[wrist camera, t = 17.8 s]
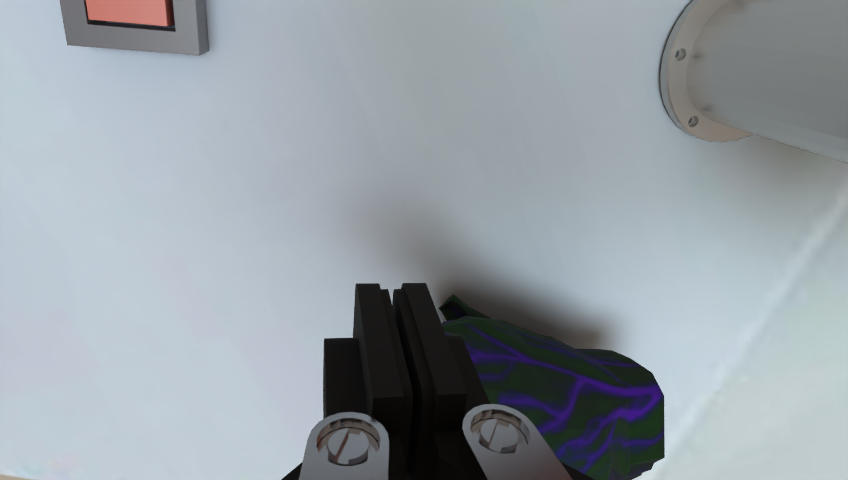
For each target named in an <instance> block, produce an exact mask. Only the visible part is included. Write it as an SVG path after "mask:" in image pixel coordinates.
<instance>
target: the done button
mask: <svg viewBox="0 0 848 480" xmlns="http://www.w3.org/2000/svg"><path fill="white" fill-rule="evenodd" d="M86 4H87V11H88V17H89V19H90V20H101V21H113V22H124V23H135V24H147V25H158V26H171V25H175V19H174V8H173V0H86Z"/></svg>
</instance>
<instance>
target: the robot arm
mask: <svg viewBox="0 0 848 480" xmlns="http://www.w3.org/2000/svg"><path fill="white" fill-rule="evenodd" d="M660 83H661V93H662V98H663V102H664V105H665V107H666V109H667V112H668V114H669V116H670V117H671V118H672V120H673V121H674V122H675V124H676V125H677V126H678V127H680V128H681V129H682V130H683V131H685V132H686V133H688V134H690V135H692V136H695V137H697V138H700V139H703V140H706V141H710V142H729V141H735V140H739V139H742V138H744V137H747V136H750V135H752V134H755V135H759V136H762V137H765V138H768V139H771V140H775V141H778V142H781V143H784V144H787V145H791V146H794V147H797V148H800V149H803V150H807V151H810V152H813V153H816V154H819V155H823V156H826V157H829V158H832V159H835V160H839V161H842V162H845V163H848V0H693V1H692V2H691V3H690V4H689V5H688V6H687V7H686V9H685V10H684V12H683V13H682V15H681V16H680V18H679V19H678V21H677V22H676V24H675V26H674V28H673V30H672V32H671V34H670V36H669V38H668V41H667V44H666V47H665V51H664V54H663V58H662V65H661V72H660ZM323 411H324V419H323V420H322V421H320V422H319V423H318V424H317V425H316V426H315V427H314V428H313V429H312V431H311V433H310V435H309V437H308V440H307V445H306V449H305V454H304V458H303V462H302V463H301V464H300V465H298V466H297V467H296V468H295V469H294V470H292V471H291V472H290V473H289V474H288V475H286V476H285V477H284V478H283V479H282V480H594V479H593V478H591V477H589V476H587V475H585V474H583V473H581V472H580V471H578V470H576V469H574V468H572V467H570V466H568V465H566V464H565V463H563V462H561V461H559V460H558V458H557V457H556V455H555V454H554V453H553V451H552V450H551V448H550V447H549V445H548V444H547V443H546V441H545V440H544V438H543V437H542V436H541V434H540V433H539V431H538V430H537V429H536V427H535V426H534V424H533V423H532V422H531V421H530V420H529V419H528V418H527V417H526V416H525V415H523V414H522V413H520V412H519V411H517V410H515V409H513V408H510V407H508V406H504V405H499V404H490V402H489V399H488V397H487V394H486V392H485V390H484V387H483V385H482V383H481V380H480V378H479V376H478V373H477V371H476V369H475V366H474V364H473V362H472V359H471V357H470V355H469V352H468V350H467V348H466V345H465V343H464V341H463V339H462V337H461V336H460V335H445V332H444V329H443V327H442V324H441V322H440V319H439V316H438V314H437V311H436V308H435V306H434V303H433V301H432V298H431V295H430V293H429V290H428V288H427V285H426V283H403V284H402V288H401V289H394V292H393V303H391V299H390V295H389V291H388V289H380V285H379V284H378V283H377V284H356V288H355V307H354V328H353V338H329V339H324V368H323Z"/></svg>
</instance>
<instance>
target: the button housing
mask: <svg viewBox="0 0 848 480" xmlns="http://www.w3.org/2000/svg"><path fill="white" fill-rule="evenodd" d="M60 5H61V11H62V17H63V23H64V28H65V34H66V40H67V45H72V46H85V47H97V48H110V49H123V50H136V51H149V52H161V53H174V54H187V55H201V54H203V53H205V52H208V51H209V46H208V32H207V17H206V2H205V0H173V8H174V19H175V28H168V27H157V26H146V25H134V24H123V23H111V22H107V21H101V20H90V19H89V17H88V11H87V4H86V0H60Z"/></svg>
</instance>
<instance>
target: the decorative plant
mask: <svg viewBox="0 0 848 480" xmlns="http://www.w3.org/2000/svg"><path fill="white" fill-rule="evenodd" d="M439 309H440V310H441V312H442V313H443V314H444V316H445V318H446V320H447V321H444V322H443V323H442V327H443V329H444V332H445V335H460V336H461V337H462V339H463V341H464V343H465V345H466V348H467V350H468V352H469V355H470V357H471V359H472V362H473V364H474V366H475V369H476V371H477V373H478V376H479V378H480V380H481V383H482V385H483V387H484V390H485V392H486V394H487V397H488V399H489V402H490V404H499V405H504V406H508V407H510V408H513V409H515V410H517V411H519V412H520V413H522V414H523V415H525V416H526V417H527V418H528V419H529V420H530V421H531V422H532V423H533V424H534V426H535V427H536V429H537V430H538V431H539V433H540V434H541V436H542V437H543V438H544V440H545V441H546V443H547V444H548V445H549V447H550V448H551V450H552V451H553V453H554V454H555V455H556V457H557V458H558V460H559V461H561V462H563V463H565V464H566V465H568V466H570V467H572V468H574V469H576V470H578V471H580V472H581V473H583V474H585V475H587V476H589V477H591V478H593V479H594V480H632V479H634V478H636V477H638V476H640V475H641V474H642V473H643V472H646V471H648V470H651V469H652V466H653V464H654V462H656V461H658V460H661V459H663V458H664V395H663V393H662V391H661V389H660V387H659V385H658V383H657V382H656V380H655V378H654V376H653V374H652V373H651V372H650V371H648V370H647V369H645V368H644V367H642V366H641V365H639V364H638V363H636V362H635V361H633V360H632V359H630V358H628V357H626V356H623V355H621V354H619V353H617V352H614V351H611V350H600V349H574V348H572V347H570V346H568V345H566V344H564V343H562V342H560V341H558V340H556V339H554V338H552V337H548V336H542V335H538V334H535V333H533V332H530V331H528V330H525V329H523V328H520V327H518V326H515V325H513V324H510V323H508V322H506V321H501V320H494V319H491V318H489V317H487V316H485V315H483V314H482V313H480V312H478V311H476V310H474V309H472V308H470V307H468V306H467V305H466V304H464V303H463V302H462V301H461V300H460V299H458V298H457V297H456V296H455V295H452V296H451V297H450V298H449V299H448V300H447V301H446V302H445V303H444V304H443V305H442V306H441V307H440V308H439Z"/></svg>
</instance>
